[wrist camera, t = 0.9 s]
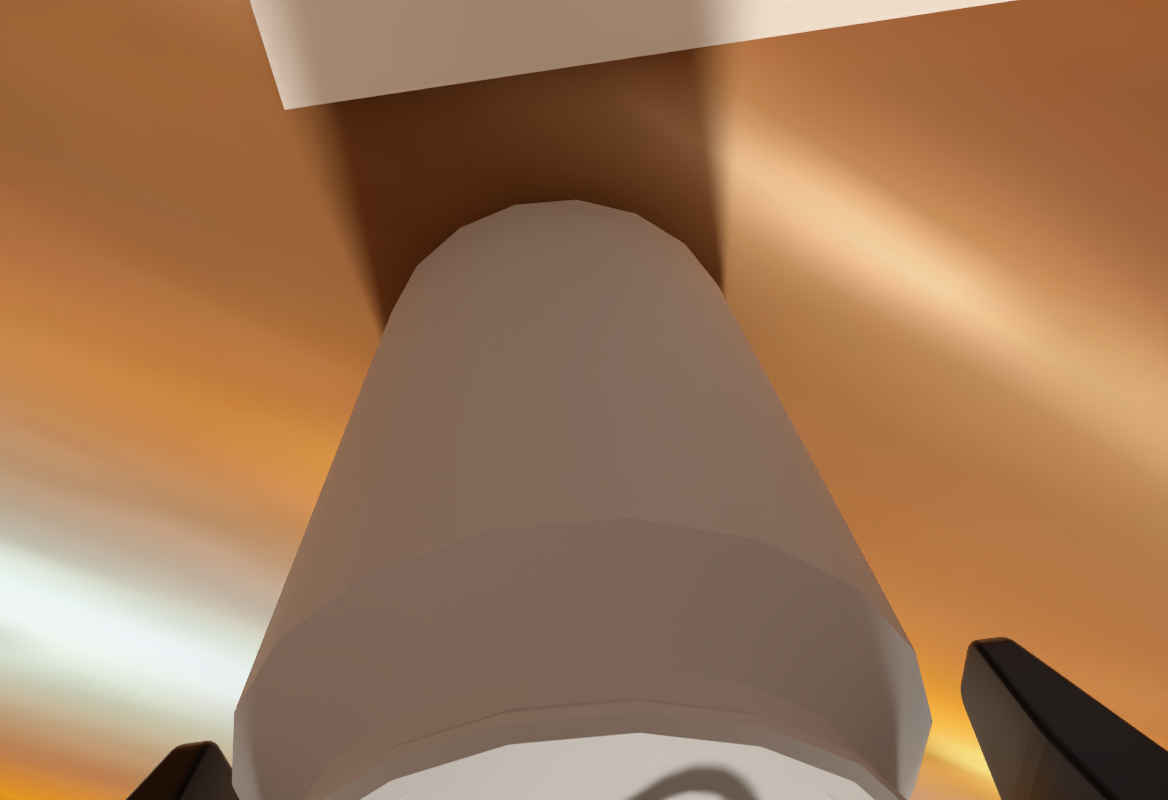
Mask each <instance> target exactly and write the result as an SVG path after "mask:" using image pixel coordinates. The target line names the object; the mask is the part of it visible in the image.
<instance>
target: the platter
mask: <svg viewBox="0 0 1168 800" xmlns="http://www.w3.org/2000/svg"><path fill="white" fill-rule="evenodd" d="M1007 1H1013V0H250V3H251V6H252V9H253V12H254V15H255V18H256V22H257V25H258V28H259V31H260V34H261V37H262V40H263V44H264V47H265V50H266V53H267V56H268V59H269V62H270V66H271V69H272V72H273V75H274V78H275V81H276V84H277V88H278V91H279V94H280V97H281V100H282V103H283V106H284V110H286V109H293V108H300V107H306V106H313V105H320V104H326V103H333V102H340V101H346V100H353V99H360V98H366V97H373V96H380V95H386V94H393V93H400V92H406V91H413V90H420V89H426V88H433V87H440V86H446V85H453V84H460V83H466V82H473V81H480V80H486V79H493V78H500V77H506V76H513V75H520V74H527V73H533V72H540V71H547V70H553V69H560V68H567V67H573V66H580V65H587V64H593V63H600V62H607V61H613V60H620V59H627V58H633V57H640V56H647V55H653V54H660V53H667V52H673V51H680V50H687V49H693V48H700V47H707V46H713V45H720V44H727V43H733V42H740V41H747V40H753V39H760V38H767V37H773V36H780V35H787V34H793V33H800V32H807V31H813V30H820V29H827V28H833V27H840V26H847V25H853V24H860V23H867V22H873V21H880V20H887V19H893V18H900V17H907V16H913V15H920V14H927V13H933V12H940V11H947V10H953V9H960V8H967V7H973V6H980V5H987V4H993V3H1000V2H1007Z"/></svg>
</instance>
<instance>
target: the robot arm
mask: <svg viewBox="0 0 1168 800" xmlns="http://www.w3.org/2000/svg"><path fill="white" fill-rule="evenodd" d="M961 695H962V700H963V704H964V707H965V709H966V712H967V715H968V717H969V720H970V722H971V725H972V727H973V730H974V732H975V735H976V737H977V740H978V742H979V745H980V747H981V750H982V752H983V755H984V757H985V760H986V762H987V765H988V767H989V770H990V772H991V775H992V777H993V780H994V782H995V785H996V787H997V790H998V792H999V795H1000V797H1001V800H1168V751H1167V750H1165V749H1164V748H1162V747H1161V746H1160V745H1158V744H1157V743H1155V742H1154V741H1153V740H1151V739H1150V738H1148V737H1147V736H1146V735H1144V734H1143V733H1142V732H1140V731H1139V730H1137V729H1136V728H1135V727H1133V726H1132V725H1130V724H1129V723H1128V722H1126V721H1125V720H1123V719H1122V718H1121V717H1119V716H1118V715H1116V714H1115V713H1114V712H1112V711H1111V710H1109V709H1108V708H1107V707H1105V706H1104V705H1102V704H1101V703H1100V702H1098V701H1097V700H1096V699H1094V698H1093V697H1091V696H1090V695H1089V694H1087V693H1086V692H1084V691H1083V690H1082V689H1080V688H1079V687H1077V686H1076V685H1075V684H1073V683H1072V682H1070V681H1069V680H1068V679H1066V678H1065V677H1063V676H1062V675H1061V674H1059V673H1058V672H1057V671H1055V670H1054V669H1052V668H1051V667H1050V666H1048V665H1047V664H1045V663H1044V662H1043V661H1041V660H1040V659H1038V658H1037V657H1036V656H1034V655H1033V654H1031V653H1030V652H1029V651H1027V650H1026V649H1024V648H1023V647H1022V646H1020V645H1019V644H1017V643H1016V642H1014V641H1013V640H1011V639H1008V638H1005V637H996V638H989V639H981V640H975V641H973V642H972V643H971V644H970V645H969V647H968V650H967V655H966V660H965V666H964V671H963V676H962V682H961ZM126 800H239V798H238V796H237V794H236V792H235V790H234V788H233V786H232V767H231V766H230V764H229V763H228V761H227V759H226V758H225V756H224V754H223V753H222V751H221V750H220V748H219V746H218V745H217V744H216V743H214V742H212V741H202V742H194V743H187V744H182V745H179V746H177V747H176V748H175V749H173V750H172V751H171V752H170V753H169V754H168V755H167V756H166V757H165V758H164V759H163V760H162V761H161V762H160V763H159V764H158V765H157V767H156V768H155V769H154V770H153V771H152V772H151V773H150V774H149V775H148V776H147V777H146V778H145V779H144V780H143V782H142V783H141V784H140V785H139V786H138V787H137V788H136V789H135V790H134V791H133V792H132V793H131V794H130V795H129V797H128V798H127V799H126Z"/></svg>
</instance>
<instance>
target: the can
mask: <svg viewBox="0 0 1168 800" xmlns="http://www.w3.org/2000/svg"><path fill="white" fill-rule="evenodd" d="M931 724H932V717H931V713H930V709H929V705H928V701H927V697H926V693H925V689H924V685H923V681H922V677H921V673H920V669H919V665H918V661H917V657H916V653H915V651H914V649H913V647H912V645H911V643H910V641H909V639H908V638H907V636H906V634H905V632H904V630H903V628H902V626H901V625H900V623H899V621H898V619H897V617H896V615H895V613H894V611H893V610H892V608H891V606H890V604H889V602H888V600H887V598H886V597H885V595H884V593H883V591H882V589H881V587H880V585H879V584H878V582H877V580H876V578H875V576H874V574H873V572H872V571H871V569H870V567H869V565H868V563H867V561H866V559H865V558H864V556H863V554H862V552H861V550H860V548H859V546H858V545H857V543H856V541H855V539H854V537H853V535H852V533H851V531H850V530H849V528H848V526H847V524H846V522H845V520H844V518H843V517H842V515H841V513H840V511H839V509H838V507H837V505H836V504H835V502H834V500H833V498H832V496H831V494H830V492H829V491H828V489H827V487H826V485H825V483H824V481H823V479H822V478H821V476H820V474H819V472H818V470H817V468H816V466H815V465H814V463H813V461H812V459H811V457H810V455H809V453H808V452H807V450H806V448H805V446H804V444H803V442H802V440H801V438H800V437H799V435H798V433H797V431H796V429H795V427H794V425H793V424H792V422H791V420H790V418H789V416H788V414H787V412H786V411H785V409H784V407H783V405H782V403H781V401H780V399H779V398H778V396H777V394H776V392H775V390H774V388H773V386H772V385H771V383H770V381H769V379H768V377H767V375H766V373H765V372H764V370H763V368H762V366H761V364H760V362H759V360H758V358H757V357H756V355H755V353H754V351H753V349H752V347H751V345H750V344H749V342H748V340H747V338H746V336H745V334H744V332H743V331H742V329H741V327H740V325H739V323H738V321H737V319H736V318H735V316H734V314H733V312H732V310H731V308H730V306H729V305H728V303H727V301H726V299H725V297H724V295H723V293H722V292H721V290H720V288H719V286H718V285H717V283H716V282H715V281H714V280H713V278H712V277H711V276H710V275H709V273H708V272H707V271H706V270H705V268H704V267H703V266H702V265H701V263H700V262H699V261H698V260H697V258H696V257H695V256H694V255H693V253H692V252H691V251H690V250H689V248H688V247H687V246H686V245H685V244H684V243H683V242H681V241H679V240H678V239H676V238H675V237H673V236H671V235H670V234H668V233H666V232H665V231H663V230H662V229H660V228H658V227H657V226H655V225H654V224H652V223H650V222H649V221H647V220H646V219H644V218H642V217H641V216H639V215H637V214H636V213H631V212H627V211H623V210H619V209H614V208H610V207H606V206H602V205H597V204H593V203H589V202H585V201H580V200H567V201H555V202H542V203H530V204H518V205H513V206H511V207H509V208H506V209H504V210H502V211H499V212H497V213H494V214H492V215H490V216H487V217H485V218H482V219H480V220H478V221H475V222H473V223H470V224H468V225H466V226H463V227H461V228H459V229H458V230H457V231H456V232H455V233H453V234H452V235H451V236H450V237H449V238H448V239H447V240H445V241H444V242H443V243H442V244H441V245H440V246H439V247H438V248H436V249H435V250H434V251H433V252H432V253H431V254H430V255H429V256H427V257H426V258H425V259H424V260H423V261H422V262H421V263H419V264H418V265H417V266H416V268H415V270H414V272H413V274H412V275H411V277H410V279H409V281H408V283H407V285H406V286H405V288H404V290H403V292H402V294H401V296H400V297H399V299H398V301H397V303H396V305H395V307H394V308H393V310H392V312H391V314H390V317H389V319H388V322H387V325H386V327H385V330H384V332H383V335H382V337H381V340H380V342H379V345H378V347H377V350H376V353H375V355H374V358H373V360H372V363H371V365H370V368H369V370H368V373H367V376H366V378H365V381H364V383H363V386H362V388H361V391H360V393H359V396H358V399H357V401H356V404H355V406H354V409H353V411H352V414H351V416H350V419H349V422H348V424H347V427H346V429H345V432H344V434H343V437H342V439H341V442H340V444H339V447H338V450H337V452H336V455H335V457H334V460H333V462H332V465H331V467H330V470H329V473H328V475H327V478H326V480H325V483H324V485H323V488H322V490H321V493H320V496H319V498H318V501H317V503H316V506H315V508H314V511H313V513H312V516H311V519H310V521H309V524H308V526H307V529H306V531H305V534H304V536H303V539H302V541H301V544H300V547H299V549H298V552H297V554H296V557H295V559H294V562H293V564H292V567H291V570H290V572H289V575H288V577H287V580H286V582H285V585H284V587H283V590H282V593H281V595H280V598H279V600H278V603H277V605H276V608H275V610H274V613H273V616H272V618H271V621H270V623H269V626H268V628H267V631H266V633H265V636H264V638H263V641H262V644H261V646H260V649H259V651H258V654H257V656H256V659H255V661H254V664H253V667H252V669H251V672H250V674H249V677H248V679H247V682H246V684H245V687H244V690H243V692H242V695H241V697H240V700H239V702H238V705H237V707H236V710H235V713H234V739H233V766H232V786H233V788H234V790H235V792H236V794H237V796H238V798H239V800H909V799H910V797H911V795H912V793H913V790H914V788H915V785H916V781H917V777H918V774H919V770H920V766H921V762H922V758H923V755H924V751H925V747H926V743H927V739H928V736H929V732H930V728H931Z"/></svg>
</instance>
